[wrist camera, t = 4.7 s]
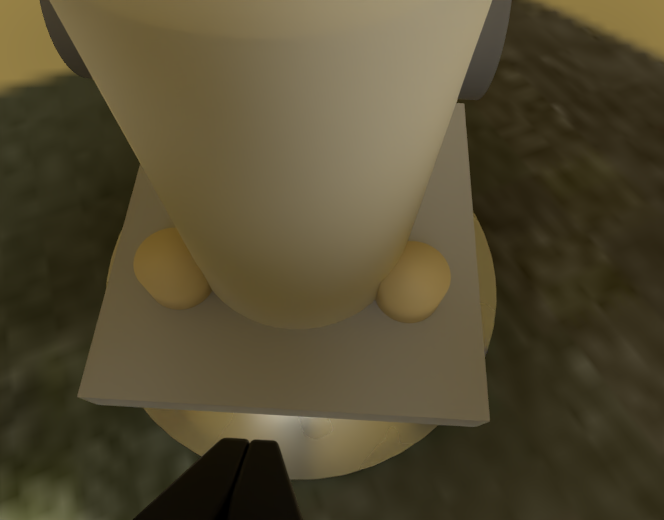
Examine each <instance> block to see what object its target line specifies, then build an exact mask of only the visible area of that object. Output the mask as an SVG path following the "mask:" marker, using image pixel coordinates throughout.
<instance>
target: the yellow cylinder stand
mask: <svg viewBox="0 0 664 520" xmlns="http://www.w3.org/2000/svg"><path fill="white" fill-rule="evenodd" d="M40 4H41V9H42V13H43V17H44V20H45V23H46V27H47V29H48V32H49V34H50V37H51V39H52V41H53V44H54V46H55V48H56V49H57V51H58V53H59V55H60V56H61V58H62V59H63V61H64V62H65V63H66V65H67V66H68V67H69V68H70V69H71V70H72V71H73V72H74V73H76V74H77V75H79V76H81V77H83V78H92V79H93V80H94V81H95V83H96V85H97V87H98V89H99V90H100V92H101V94H102V96H103V98H104V99H105V101H106V103H107V105H108V107H109V108H110V110H111V112H112V114H113V116H114V117H115V119H116V121H117V123H118V124H119V126H120V128H121V130H122V132H123V133H124V135H125V137H126V139H127V141H128V142H129V144H130V146H131V148H132V150H133V151H134V153H135V155H136V157H137V159H138V160H139V162H140V166H139V170H138V174H137V177H136V181H135V185H134V188H133V192H132V196H131V199H130V203H129V207H128V211H127V214H126V218H125V222H124V225H123V229H122V233H121V236H120V240H119V244H118V247H117V251H116V255H115V259H114V262H113V266H112V270H111V273H110V277H109V281H108V284H107V288H106V292H105V296H104V299H103V303H102V307H101V310H100V314H99V318H98V321H97V325H96V329H95V332H94V336H93V340H92V344H91V347H90V351H89V355H88V358H87V362H86V366H85V369H84V373H83V377H82V381H81V384H80V388H79V392H78V395H77V397H78V398H81V399H84V400H86V401H89V402H92V403H94V404H97V405H111V406H128V407H145V408H162V409H179V410H196V411H213V412H230V413H247V414H265V415H282V416H299V417H316V418H333V419H350V420H367V421H384V422H401V423H418V424H435V425H452V426H469V427H477V426H479V425H482V424H484V423H487V422H489V421H490V416H489V403H488V391H487V379H486V366H485V354H484V342H483V329H482V317H481V305H480V293H479V280H478V268H477V256H476V243H475V231H474V219H473V206H472V194H471V182H470V169H469V157H468V145H467V132H466V120H465V108H464V104H463V103H456V102H457V99H468V100H479V99H480V98H481V97H482V96H483V95H484V94H485V93H486V91H487V89H488V88H489V86H490V84H491V82H492V79H493V77H494V74H495V72H496V69H497V66H498V63H499V60H500V56H501V53H502V49H503V45H504V41H505V37H506V32H507V27H508V21H509V15H510V8H511V0H40Z"/></svg>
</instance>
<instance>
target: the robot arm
mask: <svg viewBox="0 0 664 520" xmlns="http://www.w3.org/2000/svg"><path fill="white" fill-rule="evenodd" d="M133 520H303V519H302V515H301V512H300V509H299V506H298V503H297V500H296V497H295V494H294V490H293V487H292V484H291V481H290V478H289V475H288V472H287V469H286V466H285V462H284V459H283V456H282V453H281V450H280V447H279V444H278V443H277V442H276V441H274V440H260V439H254V440H252V441H251V442H250V443H249V441H248V440H247V439H243V438H222V439H220V440H219V441H218V442H217V443H216V444H215V445H214V446H213V447H212V448H210V449H209V450H208V451H207V452H206V453H205V454H204V455H203V456H202V457H201V458H200V459H198V460H197V461H196V462H195V463H194V464H193V465H192V466H191V467H190V468H189V469H187V470H186V471H185V472H184V473H183V474H182V475H181V476H180V477H179V478H178V479H177V480H175V481H174V482H173V483H172V484H171V485H170V486H169V487H168V488H167V489H166V490H165V491H163V492H162V493H161V494H160V495H159V496H158V497H157V498H156V499H155V500H154V501H152V502H151V503H150V504H149V505H148V506H147V507H146V508H145V509H144V510H143V511H142V512H140V513H139V514H138V515H137V516H136V517H135V518H134V519H133Z"/></svg>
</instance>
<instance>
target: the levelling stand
mask: <svg viewBox="0 0 664 520" xmlns="http://www.w3.org/2000/svg"><path fill="white" fill-rule="evenodd" d="M473 219H474V231H475V243H476V256H477V268H478V280H479V293H480V305H481V317H482V329H483V342H484V354H485V355H486V353H487V351H488V347H489V343H490V339H491V335H492V332H493V328H494V320H495V311H496V278H495V272H494V267H493V261H492V256H491V253H490V250H489V246H488V243H487V240H486V237H485V234H484V232H483V230H482V228H481V226H480V224H479V222H478V220H477V217H476V215H475V214H474V212H473ZM121 233H122V231H121ZM121 233H120V235H119V237H118V240H117V243H116V246H115V249H114V251H113V254H112V257H111V262H110V266H109V271H108V276H107V282H106V288H107V284H108V281H109V277H110V273H111V270H112V266H113V262H114V259H115V255H116V251H117V247H118V244H119V240H120V236H121ZM143 408H144V410H145V411H146V412H147V413H148V414H149V416H150V417H151V418H152V419H153V421H154V422H156V423H157V424H158V425H159V426H160V427H161V428H162V429H164V430H165V431H166V432H167V433H168V434H169V435H170V436H171V437H173V438H174V439H175V440H176V441H178V442H179V443H181V444H183V445H184V446H186V447H187V448H189V449H190V450H192V451H193V452H195V453H197V454H198V455H200V456H203V455H204V454H205V453H206V452H207V451H208V450H209V449H210V448H212V447H213V446H214V445H215V444H216V443H217V442H218V441H219V440H220V439H222V438H243V439H247V440H248V441H249V443H250V442H251V441H252V440H254V439H260V440H274V441H276V442H277V443H278V444H279V447H280V450H281V453H282V456H283V459H284V462H285V466H286V469H287V472H288V475H289V478H290V480H317V479H324V478H330V477H336V476H343V475H347V474H350V473H353V472H356V471H360V470H363V469H366V468H369V467H372V466H374V465H376V464H379V463H381V462H383V461H385V460H387V459H389V458H391V457H393V456H395V455H398V454H399V453H401V452H403V451H404V450H406V449H407V448H409V447H410V446H412V445H413V444H415V443H416V442H418V441H419V440H421V439H422V438H424V437H425V436H426V435H428V434H429V433H430V432H431V431H432V430H433V429H434V428H435V427H437V426H438V425H435V424H418V423H401V422H384V421H367V420H350V419H333V418H316V417H299V416H282V415H265V414H247V413H230V412H213V411H196V410H179V409H162V408H145V407H143Z"/></svg>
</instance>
